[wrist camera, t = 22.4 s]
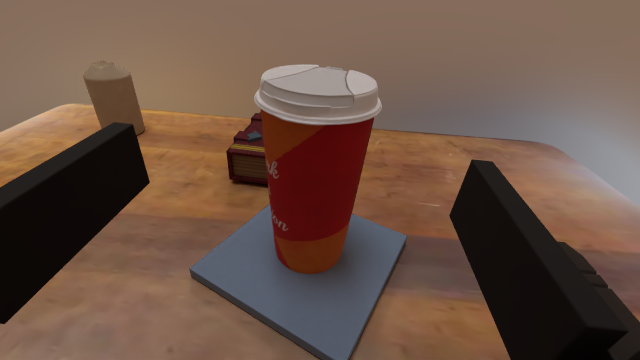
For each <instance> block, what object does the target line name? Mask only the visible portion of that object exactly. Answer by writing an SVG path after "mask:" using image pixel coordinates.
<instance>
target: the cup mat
mask: <svg viewBox="0 0 640 360" xmlns="http://www.w3.org/2000/svg"><path fill="white" fill-rule="evenodd" d="M406 239H407V236H406V235H403V234H401V233H398V232H396V231H393V230H391V229H389V228H386V227H384V226H381V225H379V224H376V223H374V222H371V221H369V220H366V219H364V218H361V217H359V216H356V215H354V214H351V218H350V222H349V227H348V231H347V235H346V239H345V242H344V246H343V250H342V253H341V256H340V258H339V260H338V262H337V263H336V264H335V265H334V266H333V267H331V268H330V269H328V270H326V271H324V272H320V273H315V274H304V273H299V272H296V271H293V270H291V269H289V268H287V267H286V266H285V265H283V264H282V263H281V261H280V260H279V258H278V256H277V253H276V249H275V243H274V235H273V226H272V217H271V208H270V204H269V205H268V206H266V207H265V208H264V209H263V210H262V211H260V212H259V213H258V214H257V215H255V216H254V217H253V218H252V219H250V220H249V221H248V222H247V223H245V224H244V225H243V226H242V227H240V228H239V229H238V230H237V231H235V232H234V233H233V234H232V235H231V236H229V237H228V238H227V239H226V240H224V241H223V242H222V243H221V244H219V245H218V246H217V247H216V248H214V249H213V250H212V251H211V252H209V253H208V254H207V255H206V256H205V257H203V258H202V259H201V260H200V261H198V262H197V263H196V264H195V265H193V266H192V267H191V268H190V273H191V277H193V278H194V279H196V280H198V281H199V282H201V283H202V284H204V285H205V286H207V287H209V288H210V289H212V290H213V291H215V292H216V293H218V294H219V295H221V296H223V297H224V298H226V299H227V300H229V301H230V302H232V303H234V304H235V305H237V306H238V307H240V308H241V309H243V310H244V311H246V312H248V313H249V314H251V315H252V316H254V317H255V318H257V319H259V320H260V321H262V322H263V323H265V324H266V325H268V326H270V327H271V328H273V329H274V330H276V331H277V332H279V333H280V334H282V335H284V336H285V337H287V338H288V339H290V340H291V341H293V342H295V343H296V344H298V345H299V346H301V347H302V348H304V349H305V350H307V351H309V352H310V353H312V354H313V355H315V356H316V357H318V358H320V359H321V360H349V359H350V357H351V355H352V353H353V351H354V349H355V347H356V345H357V343H358V341H359V338H360V336H361V334H362V332H363V330H364V328H365V326H366V324H367V322H368V320H369V318H370V316H371V313H372V311H373V309H374V307H375V305H376V303H377V301H378V299H379V297H380V295H381V293H382V290H383V288H384V286H385V284H386V282H387V280H388V278H389V276H390V274H391V272H392V270H393V268H394V265H395V263H396V261H397V259H398V257H399V255H400V253H401V251H402V249H403V247H404V245H405V242H406Z"/></svg>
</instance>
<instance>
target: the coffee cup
mask: <svg viewBox="0 0 640 360" xmlns="http://www.w3.org/2000/svg"><path fill="white" fill-rule="evenodd" d="M346 74H348V75H347V77H345V76H346ZM254 100H255V103H256V105H257V106H258V107H259V108H260V109H261V118H262V128H263V138H264V148H265V158H266V168H267V178H268V188H269V198H270V208H271V217H272V226H273V235H274V243H275V249H276V253H277V256H278V258H279V260H280V261H281V263H282V264H283V265H285V266H286V267H287V268H289V269H291V270H293V271H296V272H299V273H304V274H315V273H320V272H324V271H326V270H328V269H330V268H331V267H333V266H334V265H335V264H336V263H337V262H338V260H339V258H340V256H341V253H342V250H343V246H344V242H345V239H346V235H347V231H348V227H349V222H350V218H351V214H352V210H353V206H354V202H355V197H356V193H357V189H358V185H359V180H360V176H361V172H362V168H363V163H364V159H365V155H366V151H367V146H368V142H369V138H370V134H371V129H372V125H373V121H374V117H375V116H376V115H378V114H379V113H380V111H381V109H382V104H381V101H380V99H379V98H378V86H377V83H376V81H375V80H374V79H373V78H372V77H370V76H368V75H366V74H363V73H360V72H357V71H353V70H350V71H349V72H347V71H343V69H342V68H335V67H328V66H326V68H320V67H319V65H288V66H281V67H276V68H273V69H270V70H268V71H266V72H265V73H264V74H263V75H262V78H261V82H260V89H259V90H258V91H257V92H256V94H255V97H254Z"/></svg>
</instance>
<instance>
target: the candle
mask: <svg viewBox="0 0 640 360" xmlns="http://www.w3.org/2000/svg"><path fill="white" fill-rule="evenodd" d="M83 77H84V80H85V83H86V86H87V89H88V92H89V94H90V97H91V100H92V103H93V106H94V108H95V111H96V114H97V117H98V120H99V123H100V125H101V128H102V129H103V128H105V127H106V126H108V125H110V124H112V123H113V122H118V123H128V124H133V125H134V129H135V132H136V135H138V134H140V133H142V132H143V131H144V130H145V126H144V122H143V119H142V115H141V111H140V107H139V104H138V100H137V96H136V93H135V89H134V85H133V81H132V78H131V74H130V72H129V71H127V70H126V69H124V68H122V67H120V66H117V65H115V64H113V63H107V62H105V61H100V62H97V63H92V65H91V66H90V67H89V69H88V70H87V71H86V72H85V74H84V75H83Z"/></svg>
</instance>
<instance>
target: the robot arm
mask: <svg viewBox="0 0 640 360" xmlns="http://www.w3.org/2000/svg"><path fill="white" fill-rule="evenodd" d="M149 183H150V181H149V178H148V174H147V171H146V167H145V164H144V160H143V157H142V153H141V150H140V146H139V143H138V139H137V136H136V132H135V129H134V125H133V124H128V123H118V122H113V123H112V124H110V125H108V126H106V127H105V128H103V129H101V130H99V131H98V132H96V133H94V134H92V135H91V136H89V137H87V138H86V139H84V140H82V141H80V142H79V143H77V144H75V145H73V146H72V147H70V148H68V149H66V150H65V151H63V152H61V153H59V154H58V155H56V156H54V157H52V158H51V159H49V160H47V161H45V162H44V163H42V164H40V165H38V166H37V167H35V168H33V169H31V170H30V171H28V172H26V173H25V174H23V175H21V176H19V177H18V178H16V179H14V180H12V181H11V182H9V183H7V184H5V185H4V186H2V187H0V323H1V324H5V323H6V322H7V321H8V320H9V319H10V318H11V317H12V316H13V315H15V314H16V313H17V312H18V311H19V310H20V309H21V308H22V307H23V306H24V305H25V304H26V303H27V302H28V301H29V300H30V299H31V298H32V297H33V296H34V295H35V294H36V293H37V292H38V291H39V290H40V289H41V288H42V287H43V286H44V285H45V284H46V283H47V282H48V281H49V280H50V279H51V278H52V277H53V276H54V275H56V274H57V273H58V272H59V271H60V270H61V269H62V268H63V267H64V266H65V265H66V264H67V263H68V262H69V261H70V260H71V259H72V258H73V257H74V256H75V255H76V254H77V253H78V252H79V251H80V250H81V249H82V248H83V247H84V246H85V245H86V244H87V243H88V242H89V241H90V240H91V239H92V238H93V237H94V236H95V235H97V234H98V233H99V232H100V231H101V230H102V229H103V228H104V227H105V226H106V225H107V224H108V223H109V222H110V221H111V220H112V219H113V218H114V217H115V216H116V215H117V214H118V213H119V212H120V211H121V210H122V209H123V208H124V207H125V206H126V205H127V204H128V203H129V202H130V201H131V200H132V199H133V198H134V197H135V196H136V195H138V194H139V193H140V192H141V191H142V190H143V189H144V188H145V187H146V186H147V185H148V184H149ZM449 216H450V218H451V221H452V223H453V225H454V228H455V230H456V232H457V235H458V237H459V239H460V242H461V244H462V247H463V249H464V251H465V254H466V256H467V258H468V261H469V263H470V265H471V268H472V270H473V272H474V275H475V277H476V279H477V282H478V284H479V286H480V289H481V291H482V293H483V296H484V298H485V300H486V303H487V305H488V307H489V310H490V312H491V314H492V317H493V319H494V321H495V324H496V326H497V328H498V331H499V333H500V335H501V338H502V340H503V342H504V345H505V347H506V349H507V352H508V354H509V356H510V359H511V360H640V322H639V321H638V320H637V319H636V317H635V316H634V315H633V314H632V313H631V312H630V311H629V309H628V308H627V307H626V306H625V305H624V304H623V302H622V301H621V300H620V299H619V298H618V297H617V295H616V294H615V293H614V292H613V291H612V290H611V289H608V285H607V284H606V283H605V281H604V280H603V279H602V278H601V277H600V276H599V275H597V274H596V271H595V270H594V269H593V267H592V266H591V265H590V264H589V263H588V262H587V260H586V259H585V258H584V257H583V256H582V255H581V254H579V253H578V252H577V251H575V250H574V249H573V248H571V247H570V246H569V245H567V244H566V243H565V242H557V241H556V240H555V239H554V238H553V236H552V235H551V234H550V233H549V231H548V230H547V229H546V228H545V226H544V225H543V224H542V223H541V221H540V220H539V219H538V218H537V216H536V215H535V214H534V213H533V211H532V210H531V209H530V208H529V206H528V205H527V204H526V203H525V202H524V200H523V199H522V198H521V197H520V195H519V194H518V193H517V192H516V190H515V189H514V188H513V187H512V185H511V184H510V183H509V182H508V180H507V179H506V178H505V177H504V175H503V174H502V173H501V172H500V170H499V169H498V168H497V167H496V165H495V164H494V163H493V162H491V161H482V160H471V163H470V165H469V168H468V170H467V173H466V175H465V178H464V180H463V183H462V185H461V188H460V190H459V193H458V195H457V198H456V200H455V203H454V205H453V208H452V210H451V213H450V215H449Z"/></svg>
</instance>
